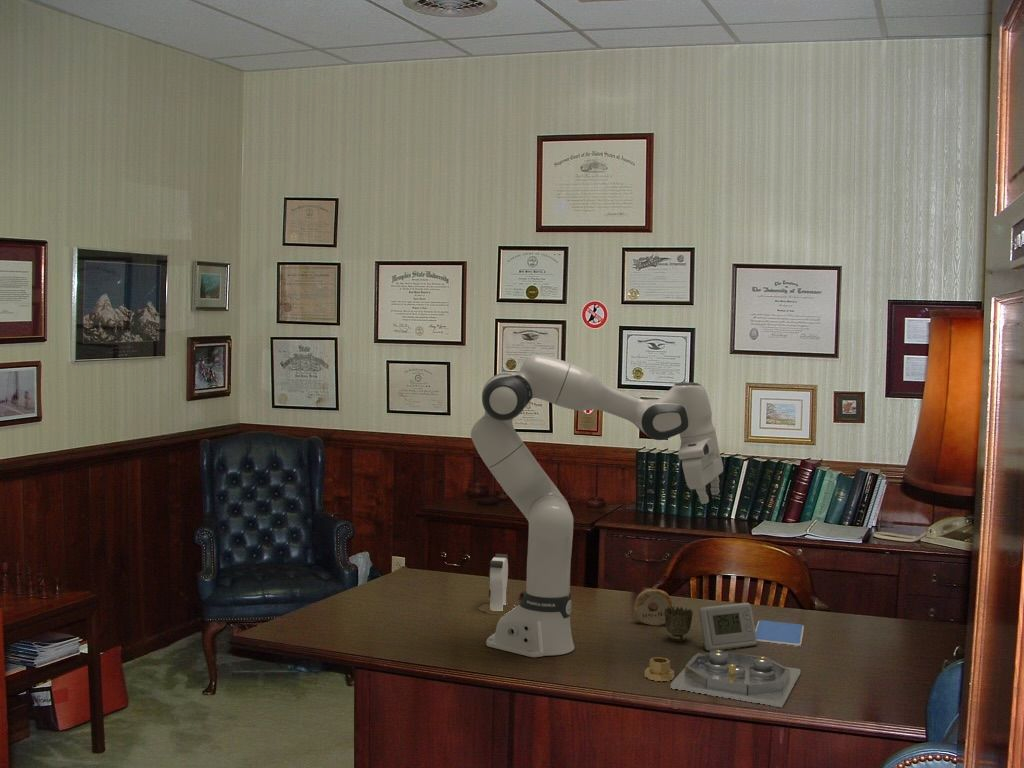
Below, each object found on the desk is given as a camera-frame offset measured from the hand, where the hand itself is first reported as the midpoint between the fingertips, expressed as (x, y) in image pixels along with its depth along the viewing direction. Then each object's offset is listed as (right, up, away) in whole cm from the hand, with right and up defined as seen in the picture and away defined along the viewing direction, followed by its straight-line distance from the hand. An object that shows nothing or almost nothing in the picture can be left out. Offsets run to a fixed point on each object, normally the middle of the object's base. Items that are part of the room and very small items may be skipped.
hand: (710, 498), depth 263 cm
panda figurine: (-54, -36, +38) cm, 75 cm away
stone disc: (-11, -38, +27) cm, 48 cm away
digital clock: (+6, -40, +8) cm, 41 cm away
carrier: (+3, -41, -19) cm, 45 cm away
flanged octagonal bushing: (-15, -40, -17) cm, 46 cm away
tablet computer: (+22, -40, +21) cm, 50 cm away
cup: (-6, -39, +13) cm, 41 cm away
